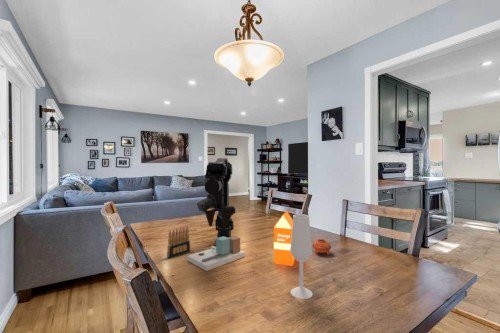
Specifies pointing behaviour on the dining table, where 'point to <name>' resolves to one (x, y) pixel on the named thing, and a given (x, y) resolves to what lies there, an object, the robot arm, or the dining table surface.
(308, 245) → the champagne flute
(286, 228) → the orange juice
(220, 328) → the dining table surface
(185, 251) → the ammunition clip
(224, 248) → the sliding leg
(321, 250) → the pot
